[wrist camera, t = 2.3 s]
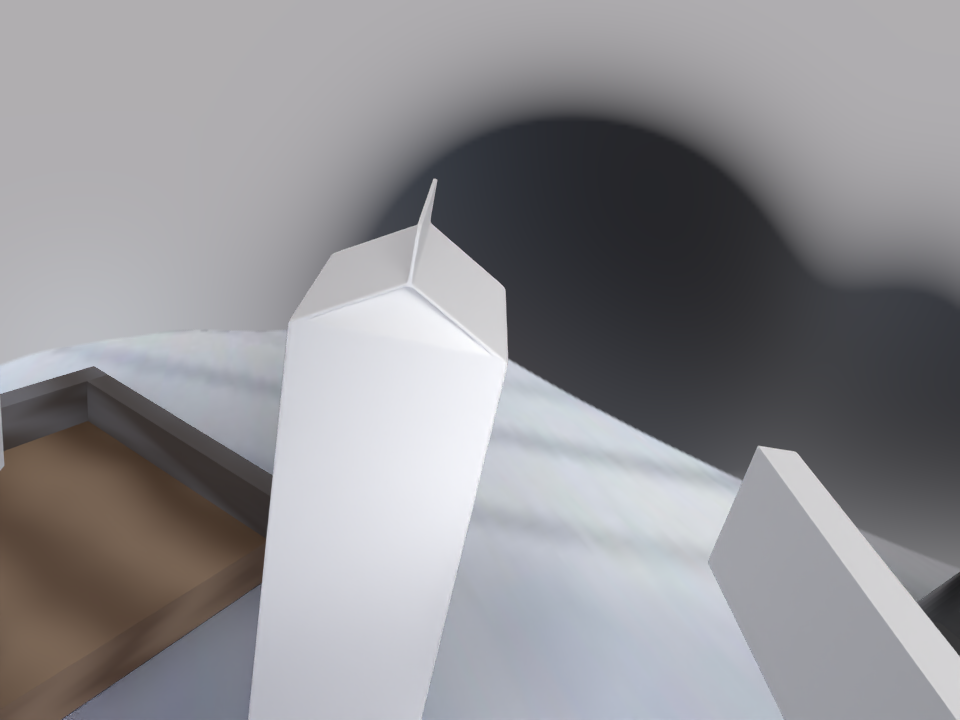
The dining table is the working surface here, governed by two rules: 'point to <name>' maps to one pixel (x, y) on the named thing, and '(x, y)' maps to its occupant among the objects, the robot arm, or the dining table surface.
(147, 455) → the dock
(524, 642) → the dining table surface
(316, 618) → the milk
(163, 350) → the dining table surface
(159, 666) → the dining table surface
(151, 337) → the dining table surface
